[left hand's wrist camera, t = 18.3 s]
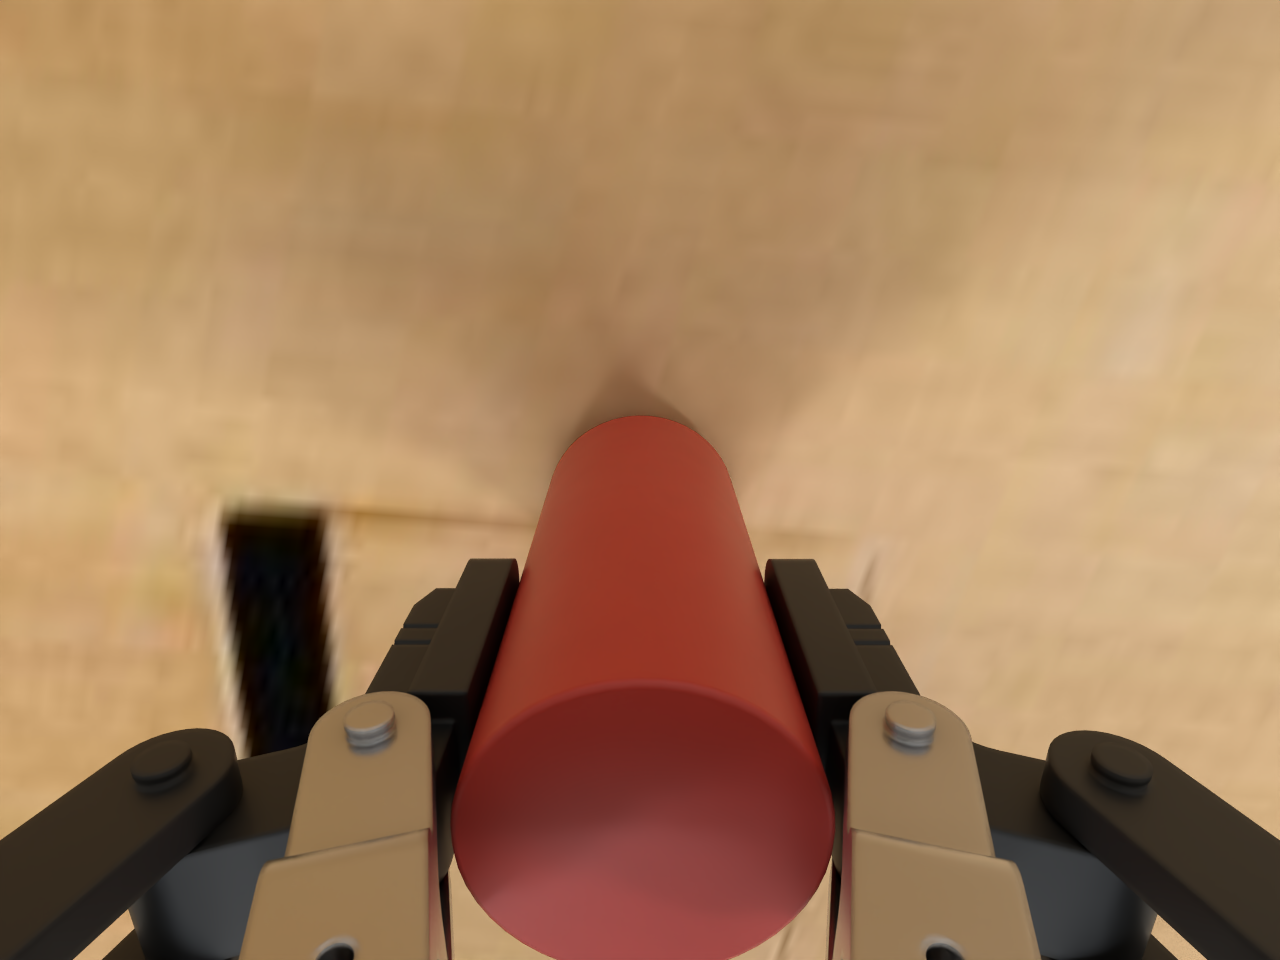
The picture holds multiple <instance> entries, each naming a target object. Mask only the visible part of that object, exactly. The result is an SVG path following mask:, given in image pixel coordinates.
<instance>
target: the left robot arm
mask: <svg viewBox="0 0 1280 960" xmlns="http://www.w3.org/2000/svg"><path fill="white" fill-rule="evenodd" d="M764 585H765V588H766V591H767V594H768V597H769V600H770V603H771V607H772V610H773V613H774V616H775V619H776V622H777V625H778V628H779V631H780V634H781V638H782V641H783V644H784V647H785V650H786V653H787V656H788V659H789V662H790V665H791V669H792V672H793V675H794V678H795V681H796V684H797V687H798V690H799V693H800V697H801V700H802V703H803V706H804V709H805V712H806V715H807V718H808V721H809V724H810V728H811V731H812V734H813V737H814V740H815V743H816V746H817V749H818V752H819V755H820V759H821V762H822V765H823V768H824V771H825V774H826V777H827V780H828V783H829V787H830V790H831V794H832V799H833V804H834V809H835V836H834V843H833V850H832V864H831V872H830V880H829V894H828V915H827V937H826V959H825V960H1178V959H1177V958H1176V957H1175V956H1174V955H1173V954H1172V953H1171V952H1169V951H1168V950H1167V949H1166V948H1165V947H1164V946H1163V945H1162V944H1161V943H1160V942H1159V941H1158V940H1157V939H1156V938H1155V937H1154V936H1153V935H1152V934H1151V932H1152V929H1153V926H1154V923H1155V920H1156V917H1157V914H1158V915H1159V916H1160V917H1161V918H1163V919H1164V920H1165V921H1166V922H1167V923H1168V924H1169V925H1170V926H1171V927H1172V928H1173V929H1175V930H1176V931H1177V932H1178V933H1179V934H1180V935H1181V936H1182V937H1183V938H1184V939H1185V940H1186V941H1188V942H1189V943H1190V944H1191V945H1192V946H1193V947H1194V948H1195V949H1196V950H1197V951H1198V952H1200V953H1201V954H1202V955H1203V956H1204V957H1205V958H1206V959H1207V960H1280V840H1278V839H1277V838H1276V837H1274V836H1273V835H1271V834H1270V833H1269V832H1267V831H1266V830H1264V829H1263V828H1262V827H1260V826H1259V825H1257V824H1256V823H1255V822H1253V821H1252V820H1250V819H1249V818H1248V817H1246V816H1245V815H1243V814H1242V813H1241V812H1239V811H1238V810H1236V809H1235V808H1234V807H1232V806H1231V805H1229V804H1228V803H1227V802H1225V801H1224V800H1222V799H1221V798H1220V797H1218V796H1217V795H1215V794H1214V793H1213V792H1211V791H1210V790H1208V789H1207V788H1206V787H1204V786H1203V785H1201V784H1200V783H1199V782H1197V781H1196V780H1194V779H1193V778H1192V777H1190V776H1189V775H1187V774H1186V773H1185V772H1183V771H1182V770H1180V769H1179V768H1178V767H1176V766H1175V765H1173V764H1172V763H1171V762H1169V761H1168V760H1166V759H1165V758H1163V757H1162V756H1160V755H1159V754H1157V753H1156V752H1154V751H1152V750H1150V749H1149V748H1147V747H1145V746H1143V745H1141V744H1138V743H1136V742H1134V741H1131V740H1129V739H1126V738H1123V737H1120V736H1116V735H1113V734H1109V733H1104V732H1098V731H1086V730H1084V731H1072V732H1067V733H1064V734H1062V735H1059V736H1058V737H1056V738H1055V739H1054V740H1053V741H1052V742H1051V744H1050V747H1049V750H1048V754H1047V758H1046V761H1045V760H1040V759H1036V758H1031V757H1026V756H1022V755H1017V754H1013V753H1008V752H1004V751H999V750H995V749H991V748H988V747H985V746H982V745H979V744H976V743H974V742H972V739H971V735H970V732H969V730H968V728H967V727H966V725H965V724H964V723H963V721H962V720H961V719H960V718H959V717H958V716H957V715H956V714H954V713H953V712H952V711H951V710H949V709H948V708H946V707H945V706H943V705H941V704H939V703H937V702H935V701H933V700H931V699H928V698H926V697H923V696H920V694H919V692H918V690H917V689H916V687H915V685H914V683H913V681H912V680H911V678H910V676H909V674H908V672H907V671H906V669H905V667H904V665H903V663H902V662H901V660H900V658H899V656H898V655H897V653H896V651H895V649H894V647H893V646H892V645H890V640H889V638H888V637H887V635H886V633H885V631H884V629H881V624H880V622H879V621H878V619H877V617H876V615H875V613H874V612H873V610H872V608H871V606H870V605H869V604H867V603H866V602H865V601H863V600H862V599H861V598H859V597H858V596H857V595H855V594H854V593H853V592H851V591H850V590H849V589H828V587H827V584H826V582H825V580H824V578H823V576H822V574H821V572H820V570H819V568H818V566H817V563H816V562H815V560H814V559H768V561H767V564H766V569H765V580H764ZM518 586H519V570H518V564H517V561H516V559H470V560H469V561H468V563H467V565H466V567H465V569H464V572H463V574H462V576H461V578H460V580H459V582H458V584H457V587H456V588H436V589H435V590H433V591H432V592H431V593H429V594H428V595H427V596H425V597H424V598H423V599H421V600H420V601H419V602H417V603H416V604H415V605H414V606H413V608H412V610H411V612H410V613H409V615H408V617H407V619H406V621H405V622H404V624H403V628H401V630H400V632H399V633H398V635H397V637H396V639H395V644H394V645H392V646H391V648H390V650H389V652H388V653H387V655H386V657H385V659H384V661H383V662H382V664H381V666H380V668H379V670H378V672H377V673H376V675H375V677H374V679H373V681H372V683H371V684H370V686H369V688H368V690H367V692H366V693H365V694H364V695H361V696H357V697H354V698H352V699H349V700H347V701H345V702H343V703H341V704H339V705H337V706H335V707H334V708H332V709H331V710H329V711H328V712H327V713H326V714H324V715H323V716H322V717H321V718H320V719H319V720H318V721H317V723H316V724H315V725H314V727H313V728H312V730H311V732H310V735H309V739H308V743H307V744H304V745H301V746H298V747H294V748H291V749H287V750H282V751H278V752H273V753H269V754H264V755H260V756H255V757H250V758H246V759H241V760H237V757H236V753H235V749H234V745H233V742H232V741H231V739H230V738H229V737H228V736H226V735H225V734H223V733H221V732H219V731H216V730H211V729H200V728H196V729H185V730H179V731H174V732H170V733H166V734H163V735H160V736H157V737H154V738H151V739H149V740H147V741H144V742H142V743H140V744H138V745H136V746H134V747H132V748H130V749H129V750H127V751H125V752H124V753H122V754H121V755H119V756H118V757H116V758H115V759H114V760H112V761H111V762H109V763H108V764H107V765H105V766H104V767H102V768H101V769H100V770H98V771H97V772H95V773H94V774H93V775H91V776H90V777H88V778H87V779H86V780H84V781H83V782H81V783H80V784H79V785H77V786H76V787H74V788H73V789H72V790H70V791H69V792H67V793H66V794H65V795H63V796H62V797H60V798H59V799H58V800H56V801H55V802H53V803H52V804H51V805H49V806H48V807H46V808H45V809H44V810H42V811H41V812H39V813H38V814H37V815H35V816H34V817H32V818H31V819H30V820H28V821H27V822H25V823H24V824H23V825H21V826H20V827H18V828H17V829H16V830H14V831H13V832H11V833H10V834H9V835H7V836H6V837H4V838H3V839H2V840H0V960H73V959H74V958H75V957H76V956H77V955H78V954H79V953H80V952H82V951H83V950H84V949H85V948H86V947H87V946H88V945H89V944H90V943H91V942H92V941H94V940H95V939H96V938H97V937H98V936H99V935H100V934H101V933H102V932H103V931H104V930H105V929H107V928H108V927H109V926H110V925H111V924H112V923H113V922H114V921H115V920H116V919H117V918H119V917H120V916H121V915H122V914H123V913H124V912H125V911H126V910H127V909H128V910H129V913H130V916H131V919H132V922H133V925H134V928H135V929H134V930H133V931H132V932H130V933H129V934H128V935H127V936H126V937H125V938H124V939H123V940H122V941H121V942H120V943H119V944H118V945H117V946H116V947H115V948H114V949H113V950H112V951H111V952H110V953H108V954H107V955H106V956H105V957H104V958H103V959H102V960H455V959H454V937H453V915H452V894H451V880H450V872H449V867H450V864H451V861H452V858H453V854H454V851H453V846H452V839H451V828H450V821H451V808H452V802H453V799H454V795H455V791H456V787H457V783H458V780H459V777H460V774H461V770H462V767H463V764H464V761H465V758H466V754H467V751H468V748H469V745H470V741H471V738H472V735H473V732H474V728H475V725H476V722H477V719H478V716H479V712H480V709H481V706H482V703H483V699H484V696H485V693H486V690H487V686H488V683H489V680H490V677H491V674H492V670H493V667H494V664H495V661H496V657H497V654H498V651H499V648H500V644H501V641H502V638H503V635H504V632H505V628H506V625H507V622H508V619H509V615H510V612H511V609H512V606H513V602H514V599H515V596H516V593H517V590H518Z"/></svg>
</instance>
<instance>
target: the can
mask: <svg viewBox="0 0 1280 960" xmlns="http://www.w3.org/2000/svg"><path fill="white" fill-rule="evenodd" d="M450 828H451V839H452V846H453V851H454V854H455V858H456V862H457V865H458V869H459V871H460V873H461V875H462V878H463V880H464V882H465V884H466V886H467V888H468V889H469V891H470V892H471V894H472V895H473V897H474V899H475V900H476V902H477V903H478V904H479V905H480V906H481V908H482V909H483V910H484V911H485V912H486V913H487V914H488V916H489V917H490V918H491V919H492V920H494V921H495V922H496V923H497V924H498V925H499V926H500V927H501V928H503V929H504V930H505V931H506V932H508V933H509V934H510V935H512V936H513V937H515V938H516V939H518V940H519V941H520V942H522V943H524V944H525V945H527V946H529V947H531V948H533V949H535V950H536V951H538V952H540V953H542V954H545V955H547V956H549V957H552V958H554V959H557V960H728V959H731V958H733V957H736V956H739V955H741V954H743V953H745V952H747V951H749V950H751V949H753V948H754V947H756V946H758V945H760V944H761V943H763V942H764V941H766V940H768V939H769V938H771V937H772V936H774V935H775V934H777V933H778V932H779V931H780V930H781V929H783V928H784V927H785V926H786V925H787V924H789V923H790V922H791V921H792V920H793V919H794V918H795V917H796V916H797V915H798V914H799V913H800V911H801V910H802V909H803V908H804V907H805V906H806V905H807V903H808V902H809V900H810V899H811V898H812V896H813V895H814V893H815V892H816V890H817V889H818V887H819V885H820V883H821V881H822V879H823V877H824V875H825V873H826V870H827V867H828V864H829V861H830V858H831V854H832V850H833V843H834V836H835V809H834V804H833V799H832V794H831V790H830V787H829V783H828V780H827V777H826V774H825V771H824V768H823V765H822V762H821V759H820V755H819V752H818V749H817V746H816V743H815V740H814V737H813V734H812V731H811V728H810V724H809V721H808V718H807V715H806V712H805V709H804V706H803V703H802V700H801V697H800V693H799V690H798V687H797V684H796V681H795V678H794V675H793V672H792V669H791V665H790V662H789V659H788V656H787V653H786V650H785V647H784V644H783V641H782V638H781V634H780V631H779V628H778V625H777V622H776V619H775V616H774V613H773V610H772V607H771V603H770V600H769V597H768V594H767V591H766V588H765V585H764V582H763V579H762V575H761V572H760V569H759V566H758V563H757V560H756V557H755V554H754V551H753V548H752V544H751V541H750V538H749V535H748V532H747V529H746V526H745V523H744V520H743V517H742V513H741V510H740V507H739V504H738V501H737V498H736V495H735V492H734V489H733V485H732V482H731V479H730V476H729V474H728V471H727V468H726V466H725V465H724V463H723V461H722V459H721V457H720V456H719V455H718V453H717V452H716V451H715V449H714V448H713V447H712V446H711V445H710V444H709V443H708V442H707V441H706V440H705V439H704V438H703V437H701V436H700V435H699V434H698V433H696V432H695V431H693V430H691V429H690V428H688V427H686V426H684V425H682V424H680V423H677V422H675V421H672V420H668V419H665V418H661V417H654V416H629V417H622V418H618V419H614V420H610V421H608V422H605V423H602V424H600V425H598V426H596V427H594V428H592V429H591V430H589V431H587V432H586V433H585V434H583V435H582V436H581V437H579V438H578V439H577V440H576V441H575V442H574V443H573V444H572V445H571V446H570V447H569V448H568V450H567V451H566V452H565V453H564V455H563V456H562V458H561V459H560V461H559V463H558V464H557V467H556V469H555V471H554V474H553V476H552V480H551V483H550V486H549V489H548V493H547V496H546V499H545V502H544V506H543V509H542V512H541V515H540V518H539V522H538V525H537V528H536V531H535V535H534V538H533V541H532V544H531V548H530V551H529V554H528V557H527V560H526V564H525V567H524V570H523V573H522V577H521V580H520V583H519V586H518V590H517V593H516V596H515V599H514V602H513V606H512V609H511V612H510V615H509V619H508V622H507V625H506V628H505V632H504V635H503V638H502V641H501V644H500V648H499V651H498V654H497V657H496V661H495V664H494V667H493V670H492V674H491V677H490V680H489V683H488V686H487V690H486V693H485V696H484V699H483V703H482V706H481V709H480V712H479V716H478V719H477V722H476V725H475V728H474V732H473V735H472V738H471V741H470V745H469V748H468V751H467V754H466V758H465V761H464V764H463V767H462V770H461V774H460V777H459V780H458V783H457V787H456V791H455V795H454V799H453V802H452V808H451V821H450Z"/></svg>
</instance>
